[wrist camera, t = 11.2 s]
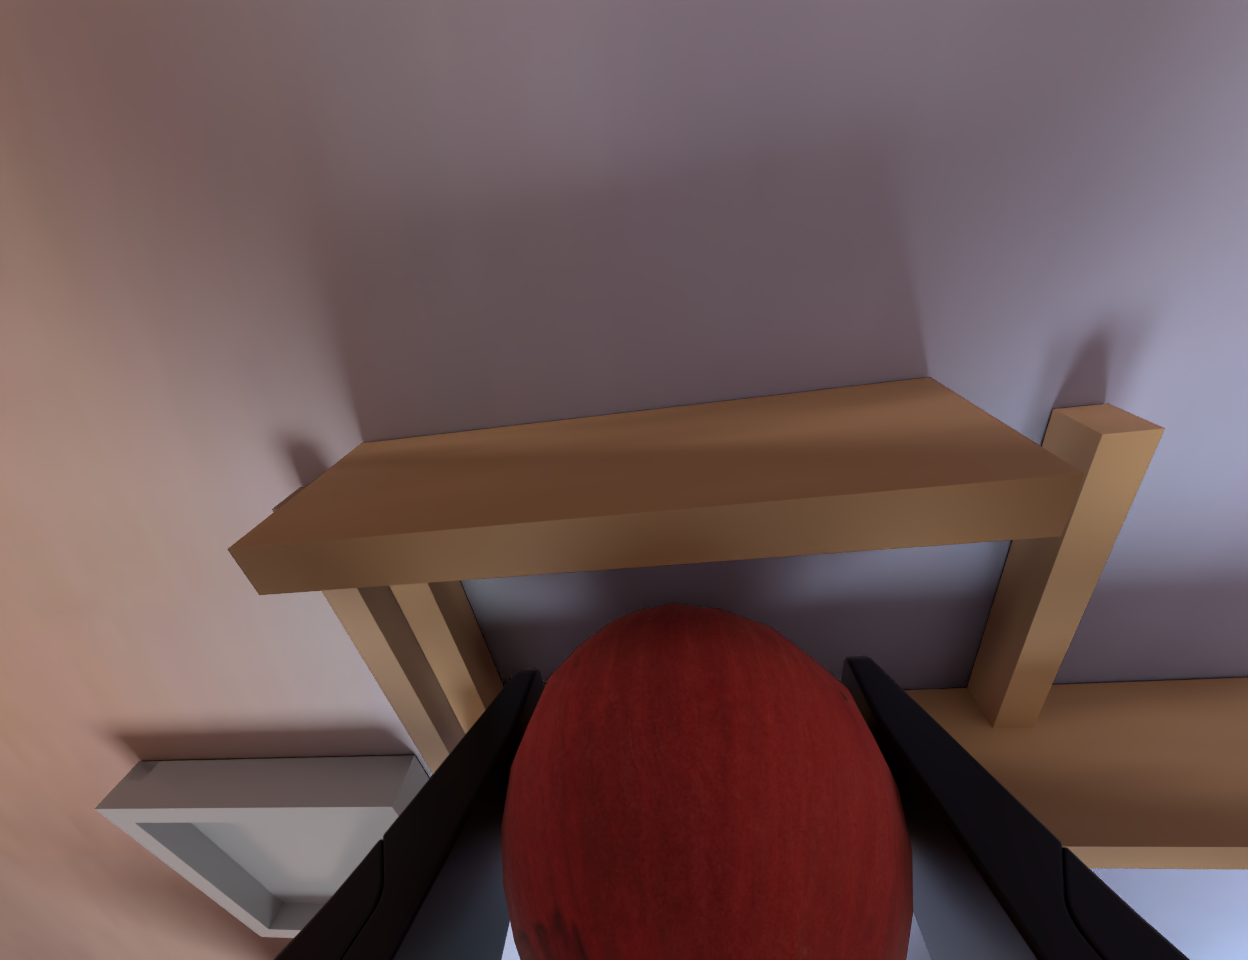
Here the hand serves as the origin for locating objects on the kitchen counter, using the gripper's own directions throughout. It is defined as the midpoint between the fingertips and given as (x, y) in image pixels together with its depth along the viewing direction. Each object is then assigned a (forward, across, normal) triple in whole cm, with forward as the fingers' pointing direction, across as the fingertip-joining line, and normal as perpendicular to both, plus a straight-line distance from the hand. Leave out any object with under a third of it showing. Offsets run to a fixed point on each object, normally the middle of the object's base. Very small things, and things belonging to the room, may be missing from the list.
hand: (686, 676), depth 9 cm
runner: (+2, +7, +4) cm, 8 cm away
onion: (+2, 0, 0) cm, 2 cm away
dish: (+2, +13, +10) cm, 17 cm away
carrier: (+2, -3, -1) cm, 4 cm away
